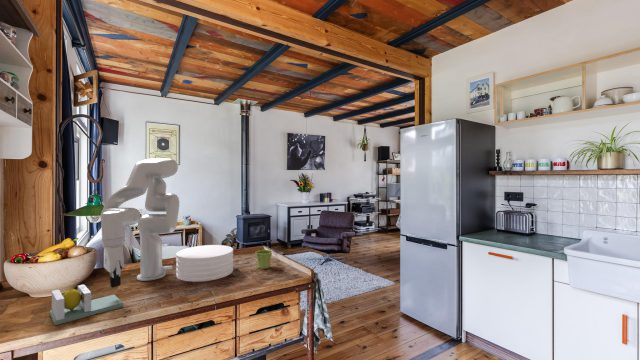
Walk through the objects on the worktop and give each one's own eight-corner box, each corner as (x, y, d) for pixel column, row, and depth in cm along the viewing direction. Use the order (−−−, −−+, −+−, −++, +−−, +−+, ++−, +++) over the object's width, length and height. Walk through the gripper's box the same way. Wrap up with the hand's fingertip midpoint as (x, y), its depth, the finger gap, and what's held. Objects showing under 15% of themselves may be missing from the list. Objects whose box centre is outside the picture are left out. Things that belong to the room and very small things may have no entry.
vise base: (114, 298, 125) (114, 277, 125) (122, 306, 117) (122, 284, 117) (50, 314, 110) (49, 291, 110) (54, 325, 102) (54, 300, 102)
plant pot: (257, 264, 172) (257, 249, 172) (274, 265, 172) (274, 249, 172) (253, 269, 163) (253, 253, 163) (270, 270, 163) (270, 254, 163)
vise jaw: (84, 301, 118) (84, 284, 118) (91, 310, 110) (91, 292, 110) (77, 302, 116) (77, 285, 116) (84, 312, 108) (84, 293, 108)
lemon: (61, 310, 110) (60, 288, 110) (80, 305, 114) (79, 284, 114) (62, 315, 106) (61, 293, 106) (82, 310, 110) (81, 288, 110)
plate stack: (222, 282, 145) (222, 258, 145) (165, 281, 145) (165, 258, 145) (239, 264, 173) (239, 245, 173) (191, 264, 173) (191, 244, 173)
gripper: (97, 240, 123) (99, 283, 124) (107, 247, 113) (109, 294, 115) (119, 236, 129) (120, 278, 130) (130, 243, 119) (132, 288, 120)
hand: (115, 285), depth 122 cm, fingers closed
